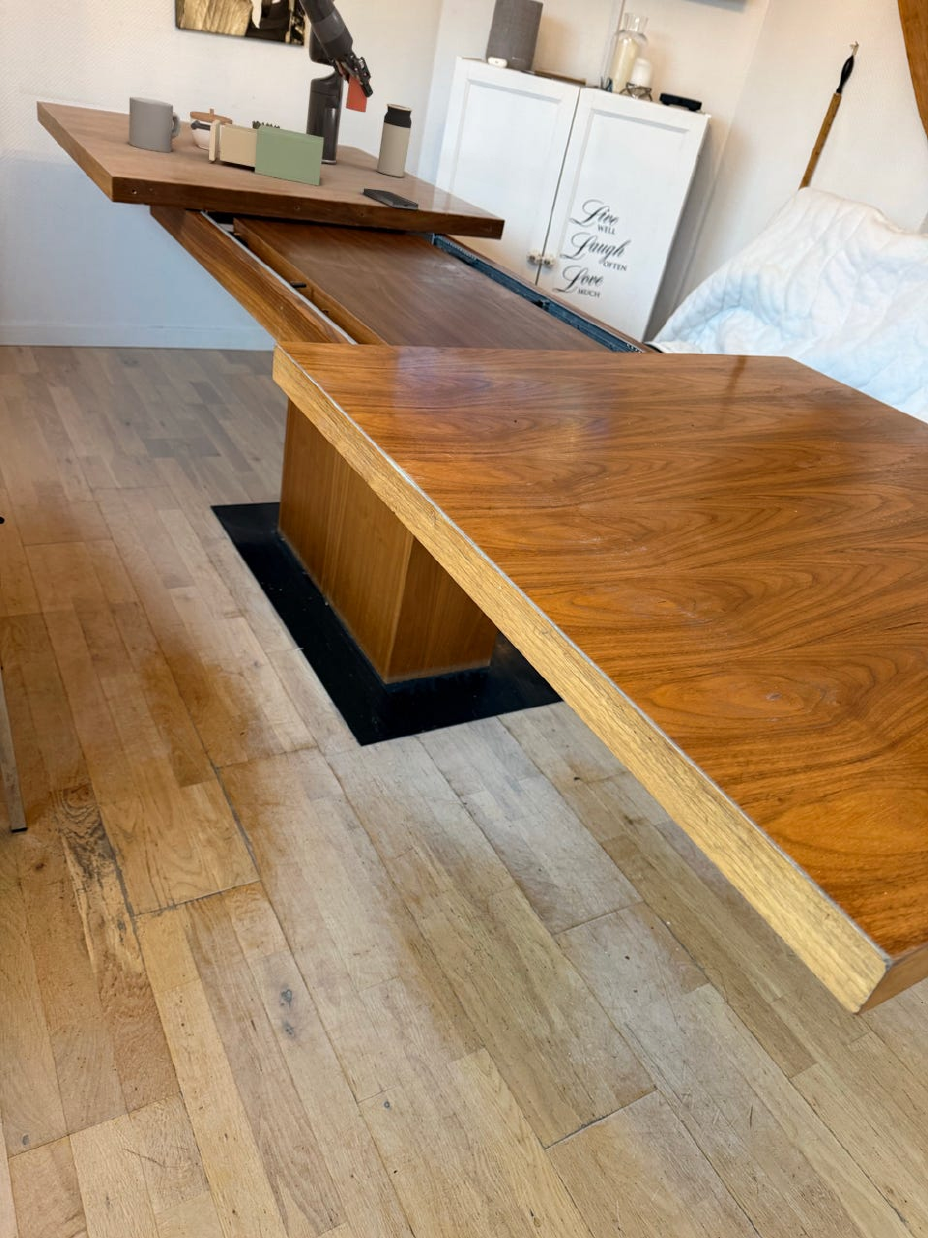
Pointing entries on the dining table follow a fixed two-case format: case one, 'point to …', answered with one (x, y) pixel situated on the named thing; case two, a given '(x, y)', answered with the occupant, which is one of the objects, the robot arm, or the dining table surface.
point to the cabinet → (288, 155)
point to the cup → (257, 124)
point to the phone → (390, 199)
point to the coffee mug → (152, 124)
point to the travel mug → (394, 140)
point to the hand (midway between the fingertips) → (363, 92)
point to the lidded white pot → (203, 135)
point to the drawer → (231, 142)
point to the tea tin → (356, 95)
